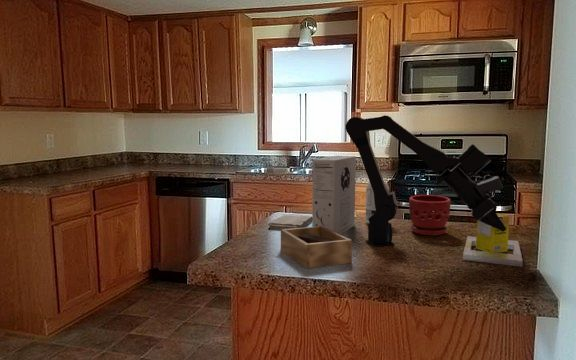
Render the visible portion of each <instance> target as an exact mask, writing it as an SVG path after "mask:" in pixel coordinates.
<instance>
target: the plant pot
mask: <svg viewBox="0 0 576 360" xmlns="http://www.w3.org/2000/svg"><path fill="white" fill-rule="evenodd" d="M408 199H409V200H408V211H409V217H410V220H411V223H412V224H411V225H410V229H411V230H412V231H413V232H414V233H416V234H418V235H422V236H440V235H443V234H445V233H447V229H448V228H447V226H446V225H447V223H448V220H449V217H450V214H451V198H449V197H447V196H443V195H437V194H436V195H435V194H415V195H412V196H410V197H409V198H408Z"/></svg>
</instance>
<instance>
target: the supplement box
mask: <svg viewBox="0 0 576 360" xmlns="http://www.w3.org/2000/svg"><path fill="white" fill-rule="evenodd" d="M496 214H497V216H498V217H499V218H500V220H501V221H502V223H503V224H504V226H505V227H506V230H505V231H501V230H499V229H497V228H494V227H492V226H490V225H488V224H485V223H483V222H480V221H478V220H476V235H475V237H476V246H475V251H485V252H494V253H504V254H508V250H509V249H508V240H509V231H510V229H509V228H510V215H506V214H501V213H499V212H498V213H497V212H496Z"/></svg>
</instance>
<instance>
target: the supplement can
mask: <svg viewBox="0 0 576 360" xmlns="http://www.w3.org/2000/svg"><path fill="white" fill-rule="evenodd" d="M384 183H385V186H386V188H387V189H388V191H389V192H390V186H389V184H388V182H385V181H384ZM365 189H366V190H365V192H366V193H365V223H367V225H368V223H369V218H370V216H371V215H372V214H373V213H374V212H375V211H376V208H375V202H374V192H373V189H372V187H371V184H370V181H369V182H367V184H366V186H365Z"/></svg>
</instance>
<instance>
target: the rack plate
mask: <svg viewBox="0 0 576 360" xmlns="http://www.w3.org/2000/svg"><path fill="white" fill-rule="evenodd" d="M465 241H466V242H465V246H464V249H463V255H462V261H468V262H477V263H478V262H479V263H487V264H494V265H495V264H497V265H503V266H504V265H505V266H511V267H512V266H514V267H523V262H524V261H523V257H522V256H523V255H522V251H521V247H520V243H519V241H518V240H511V239H508V250H512V252H513V254H512V253H507V254H504V253H494V252H485V251H476V249H475V250H474V249H472V247H476V236H470V235H469V236H467V237H466V240H465Z"/></svg>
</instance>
